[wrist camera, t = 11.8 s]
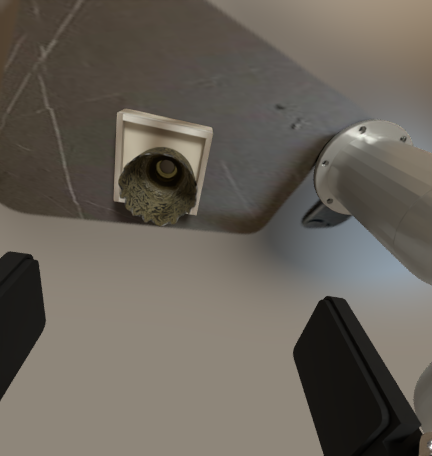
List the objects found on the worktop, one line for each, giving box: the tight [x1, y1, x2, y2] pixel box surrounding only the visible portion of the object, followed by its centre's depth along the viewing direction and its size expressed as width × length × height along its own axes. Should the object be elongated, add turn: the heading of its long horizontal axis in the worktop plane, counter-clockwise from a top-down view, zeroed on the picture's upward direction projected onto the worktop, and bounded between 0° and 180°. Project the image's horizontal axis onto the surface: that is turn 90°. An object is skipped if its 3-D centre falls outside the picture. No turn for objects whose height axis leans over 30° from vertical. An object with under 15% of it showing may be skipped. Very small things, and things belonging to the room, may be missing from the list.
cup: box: [118, 147, 198, 226], centre depth 30 cm, size 7×7×8 cm
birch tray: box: [114, 109, 213, 215], centre depth 34 cm, size 10×10×4 cm
